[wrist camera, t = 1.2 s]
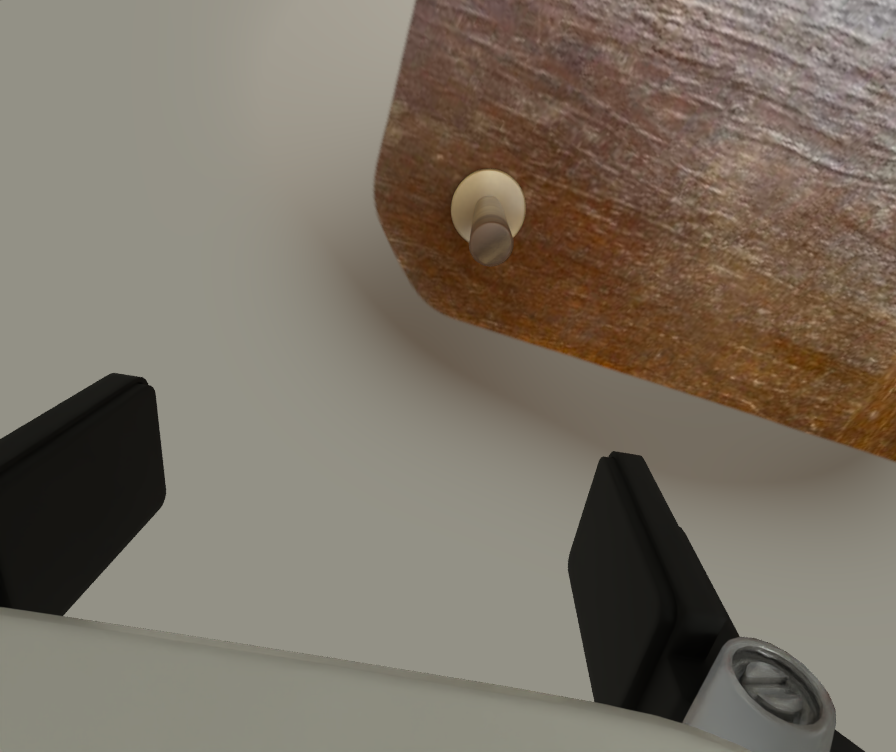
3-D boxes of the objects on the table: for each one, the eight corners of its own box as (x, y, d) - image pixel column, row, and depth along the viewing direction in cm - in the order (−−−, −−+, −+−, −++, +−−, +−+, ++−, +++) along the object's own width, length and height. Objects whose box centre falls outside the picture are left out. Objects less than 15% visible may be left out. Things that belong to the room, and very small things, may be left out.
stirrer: (441, 186, 31) (412, 210, 18) (509, 155, 30) (527, 159, 17) (468, 253, 33) (458, 318, 20) (533, 226, 32) (567, 277, 19)
